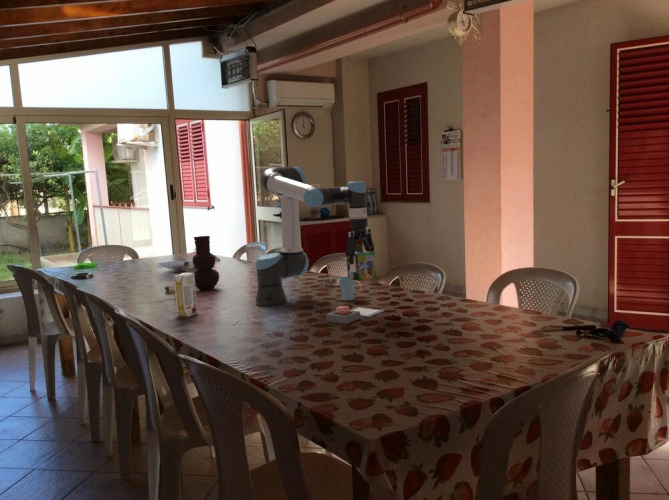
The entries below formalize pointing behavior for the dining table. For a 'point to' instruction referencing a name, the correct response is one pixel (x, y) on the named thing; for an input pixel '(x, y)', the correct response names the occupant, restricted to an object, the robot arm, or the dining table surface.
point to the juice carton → (185, 294)
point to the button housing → (343, 317)
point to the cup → (347, 288)
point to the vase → (204, 265)
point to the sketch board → (367, 311)
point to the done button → (342, 310)
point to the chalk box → (363, 265)
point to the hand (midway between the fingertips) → (361, 269)
